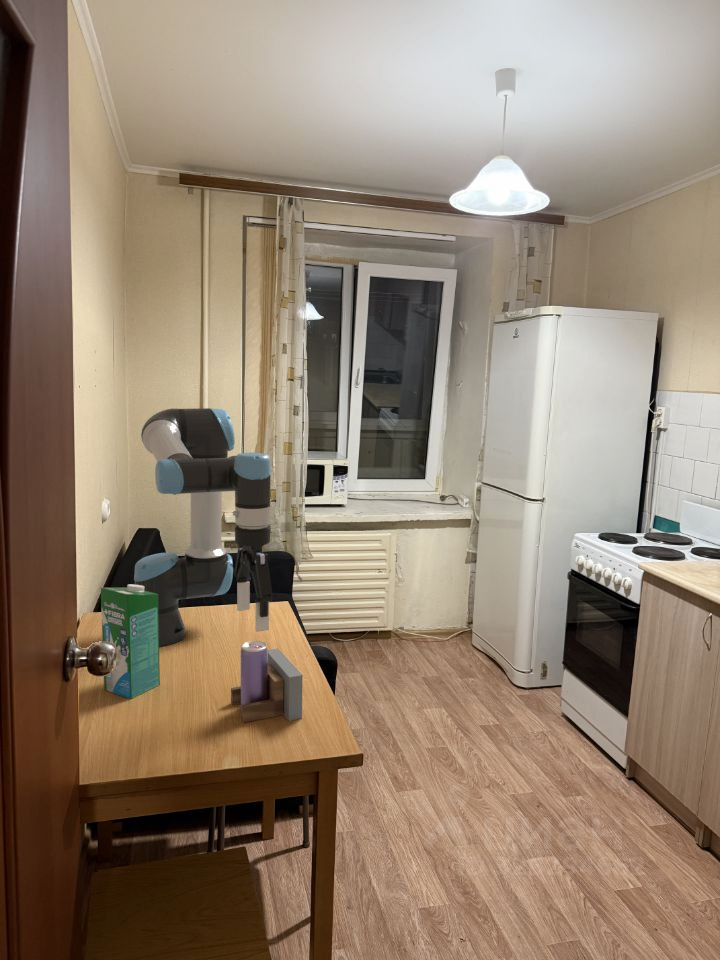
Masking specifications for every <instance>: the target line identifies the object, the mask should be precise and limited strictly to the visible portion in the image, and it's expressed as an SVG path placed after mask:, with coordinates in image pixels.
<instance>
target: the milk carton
mask: <svg viewBox="0 0 720 960" xmlns="http://www.w3.org/2000/svg"><path fill="white" fill-rule="evenodd" d="M100 602H101V603H100V605H101V608H100V609H101V633H102V642H103V641H108V642H111V643H113V644H114V645H115V647H116V650H117V661H116V666H115V669H114V670H113V672H111V673H110V674H109V675H106V676H104V675H103V690H105V691H106V692H107V691H108V692H110V693H112V694H116V695H118V696H120V697H123V698H127V699H129V700H132V699H134V698H136V697H138V696H140V695H142V694H144V693H147V692H148V691H150V690H152V689H154V688H156V687H159V686H160V685H161V682H160V681H161V677H160V676H161V675H160V671H161V670H160V646H159V621H158V594H156V593H152V592H148V591H144V586H142V585H135V584H127V586H126V587H101V588H100Z"/></svg>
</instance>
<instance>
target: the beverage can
mask: <svg viewBox="0 0 720 960" xmlns="http://www.w3.org/2000/svg"><path fill="white" fill-rule="evenodd" d="M268 650H269V649H268V644H267V643H266V642H264V641H261V640H250V641H249V640H248V641H246V642H244V643H242V644H241V648H240V686H241V703H240V709H241V710H242V705H244V704H249V703H254V702H259V701H265V700H268Z"/></svg>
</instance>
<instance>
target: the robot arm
mask: <svg viewBox="0 0 720 960" xmlns="http://www.w3.org/2000/svg"><path fill="white" fill-rule="evenodd" d="M234 430H235V429H234V425H233V422H232V419H231V416H230V414H229V413H228V412H227V411H226V410H225V409H222V408H221V409H220V408H211V407H209V408H206V407H205V408H203V407H202V408H169V409H168V408H167V409H164V410H161V411H159V412H156V413H155V414H153V415H151V417H149V418H148V419H147V420H146V422H144V424H143V427H142V429H141V434H140V437H141V438H140V439H141V442H142V443H143V444H142V445H143V446H144V448H145V449H146V450H147V452H149V453H150V454H151V455H153V456H154V459H155V460H156V463H155V470H154V471H155V473H154V476H155V485H156V490H157V492H158V493H159V494H162V495H167V494H168V495H169V494H170V495H181V494H190V545H189V546H188V547H187V548H186V549H185V551H184V557H180V558H179V556H178V554H176V553H174V552H160V553H155V554H151V555H147V556H144V557H142V558H141V559H139V560H138V561H137V562H136V563H135V565H134V577H133V580H134V585H142V586H144V591H148V592H152V593H156V594H158V621H159V647H163V646H169V645H172V644H175V643H178V642H180V641H181V640H183V639H184V638H185V637H186V626H185V623H184V621H183V618H182V615H181V612H180V610H179V600H185V599H186V600H188V599H196V598H206V597H211V598H213V597H215V596H220V595H221V596H222V595H225V594H227V592H228V591H229V590H230V588H231V585H232V582H233V576H234V577H235V578H236V579H235V580H236V582H237V584H236V585H237V586H236V588H237V589H236V591H237V593H236V594H237V595H236V597H237V599H236V600H237V601H236V603H237V605H236V606H237V609H236V611H237V612H242V611H249V610H250V609H251V607H250V606H251V604H250V602H251V601H250V600H251V599H250V598H251V592H250V591H251V589H250V586H251V584H250V581H251V580H252V581H253V585H254V590H255V595H256V598H255V599H254V601H253V602H254V604H255V632H256V633H258V632H264V631H269V630H270V602H272V601H273V600H274V595H273V594H274V593H273V588H272V587H273V586H272V581H271V579H272V578H271V573H270V568H269V566H270V565H269V554H268V553H264V551H263V547H264V546H266V545H268V544H269V543H270V542H271V526H270V524H271V517H272V516H271V513H272V512H271V508H272V507H271V475H272V468H271V458H270V456H269V455H268V454H266V453H260V452H242V453H238V454H236V455H230V456H228V455H229V452H231V451H233V450H234V449H235V444H236V443H235V442H236V441H235V439H236V438H235V431H234ZM223 492H225V493H226V492H234V511H232V515H233V516H234V521H235V522H234V523H235V524H236V526H235V527H234V542H235V544H237V553H236V559H235V567H233V565H234V563H233V557H232V555H230V554H229V553H227V548H226V547H224V546H223V545H222V518H223V516H222V513H223V512H222V510H223V508H222V507H223V503H222V502H223V501H222V499H223V498H222V497H223V494H222V493H223ZM250 574H251V575H250ZM251 577H252V578H251Z"/></svg>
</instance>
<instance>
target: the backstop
mask: <svg viewBox="0 0 720 960" xmlns="http://www.w3.org/2000/svg"><path fill="white" fill-rule="evenodd" d="M268 663H269V664H270V665H271V666H272V667H273V668H274V670H275V671H276V672H277V673H278V674H279V675H280V677H281V678H282V679H283V715H284V716H285V718H286V719H287V720H288V722H290V721H297V720H301V719H303V674H302V673H301V671H300V670H298V668H297V667H296V666H295V665H294V664H293V663H292V662H291V661H290V660H289V659H288V658H287V657H286V656H285V654H284V653H283V652H282V651H281V650H280V649H279V648H274V649H273V648H272V649H268Z"/></svg>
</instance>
